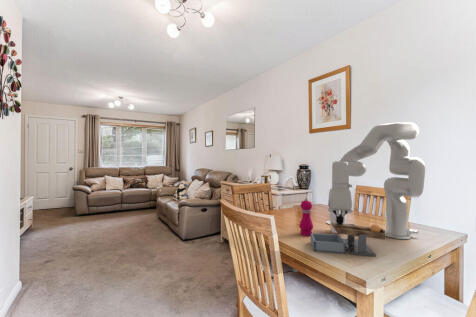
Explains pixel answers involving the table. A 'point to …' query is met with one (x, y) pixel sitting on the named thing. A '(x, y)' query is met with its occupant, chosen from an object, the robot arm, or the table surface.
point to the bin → (327, 243)
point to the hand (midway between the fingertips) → (339, 224)
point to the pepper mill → (306, 218)
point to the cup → (333, 220)
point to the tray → (358, 231)
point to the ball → (375, 228)
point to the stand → (358, 245)
